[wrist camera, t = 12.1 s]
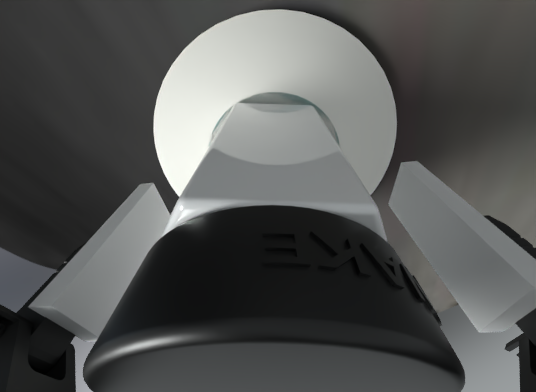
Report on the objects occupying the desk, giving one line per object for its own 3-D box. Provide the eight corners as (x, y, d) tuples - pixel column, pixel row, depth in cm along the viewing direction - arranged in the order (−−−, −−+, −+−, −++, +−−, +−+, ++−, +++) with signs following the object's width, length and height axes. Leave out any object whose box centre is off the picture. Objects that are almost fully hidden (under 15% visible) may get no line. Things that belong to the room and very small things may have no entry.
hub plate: (126, 170, 16) (120, 176, 15) (248, -97, 8) (246, -108, 8) (283, 255, 22) (283, 261, 21) (437, 143, 14) (445, 148, 14)
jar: (347, 187, 16) (469, 422, 6) (254, 223, 18) (233, 432, 8) (301, 62, 11) (516, 227, 1) (183, 133, 13) (-45, 375, 4)
